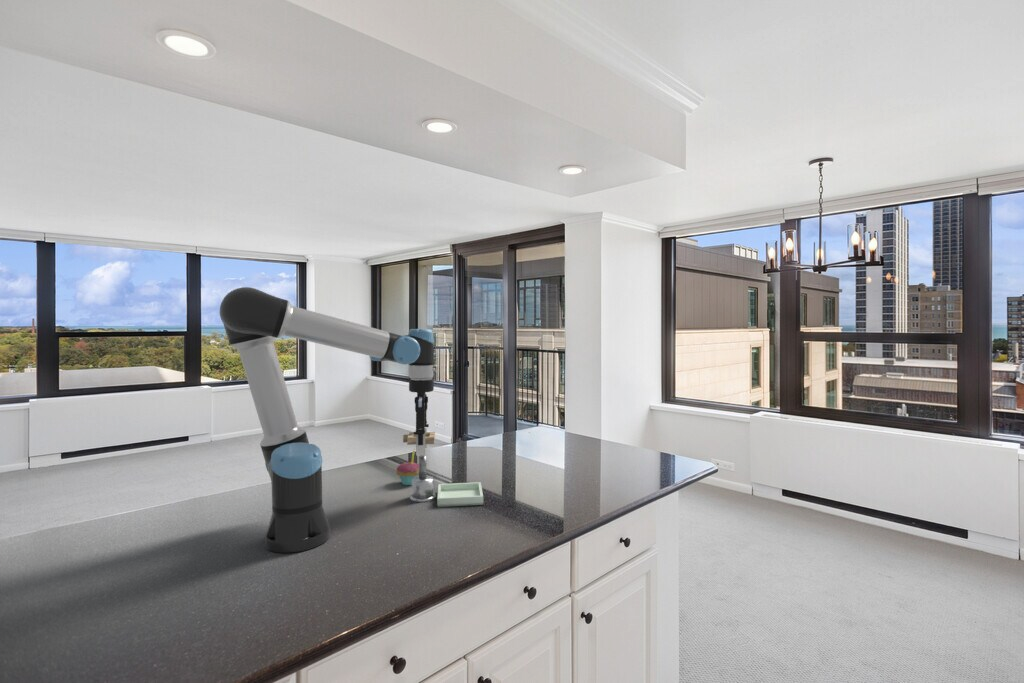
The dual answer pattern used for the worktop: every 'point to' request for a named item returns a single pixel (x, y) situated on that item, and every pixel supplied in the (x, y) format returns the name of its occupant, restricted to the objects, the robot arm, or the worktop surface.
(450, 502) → the tray
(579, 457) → the worktop surface
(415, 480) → the silver bell-shaped piece
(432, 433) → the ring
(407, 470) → the cupcake
